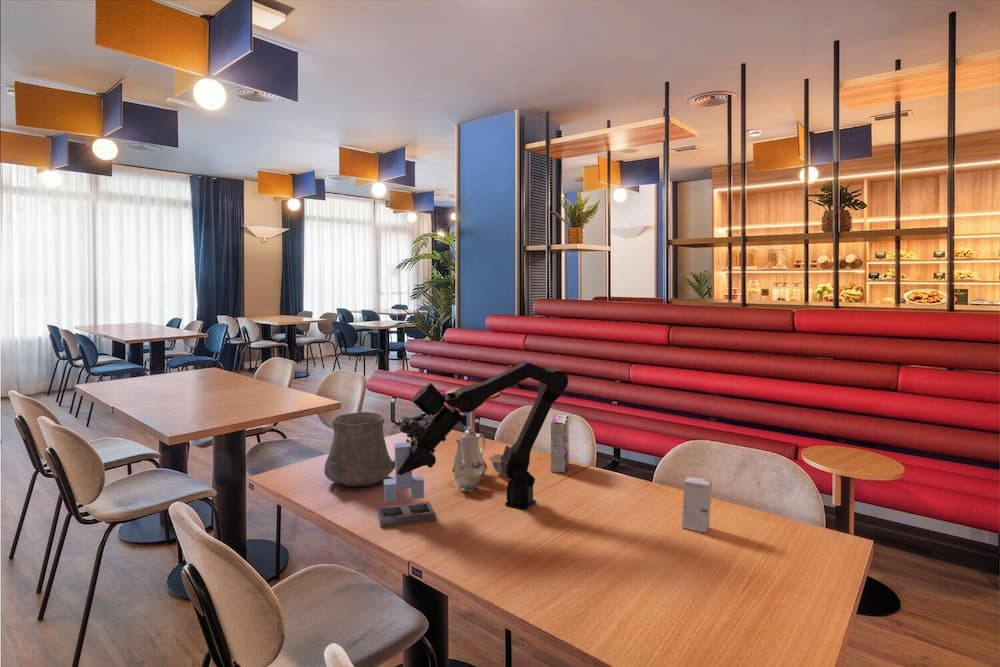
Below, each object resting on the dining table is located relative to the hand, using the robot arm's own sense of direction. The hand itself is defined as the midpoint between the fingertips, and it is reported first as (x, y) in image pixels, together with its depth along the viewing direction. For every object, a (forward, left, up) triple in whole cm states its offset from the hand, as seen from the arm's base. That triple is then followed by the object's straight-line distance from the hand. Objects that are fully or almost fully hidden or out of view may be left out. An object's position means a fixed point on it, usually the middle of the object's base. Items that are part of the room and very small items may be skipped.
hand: (398, 471), depth 154 cm
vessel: (+27, -14, -12) cm, 32 cm away
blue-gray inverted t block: (-1, -1, -7) cm, 7 cm away
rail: (-2, 0, -12) cm, 12 cm away
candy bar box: (-19, -57, -12) cm, 62 cm away
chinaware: (-2, -34, -12) cm, 36 cm away
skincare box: (-68, -32, -12) cm, 77 cm away
